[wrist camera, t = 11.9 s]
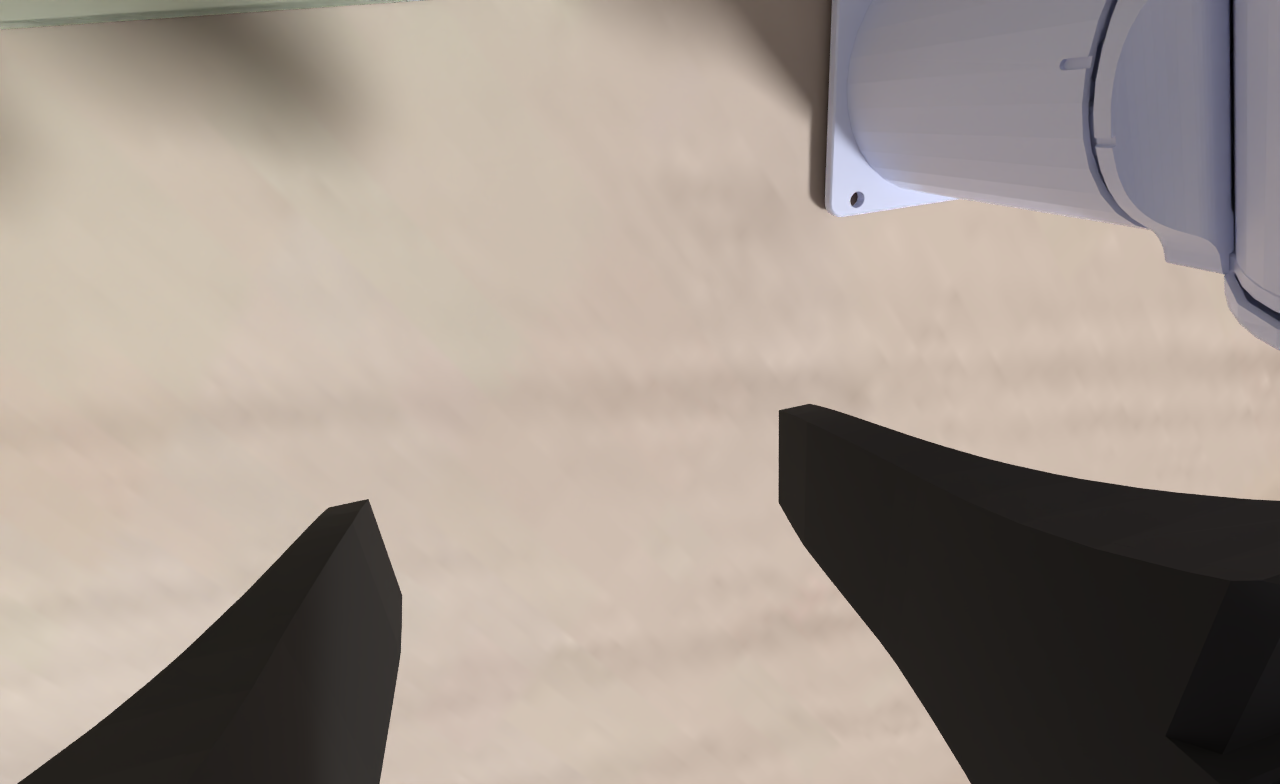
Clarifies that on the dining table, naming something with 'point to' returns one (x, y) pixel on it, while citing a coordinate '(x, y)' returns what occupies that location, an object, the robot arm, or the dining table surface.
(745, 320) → the dining table surface
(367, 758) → the robot arm
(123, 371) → the dining table surface
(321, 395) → the dining table surface
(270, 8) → the bin
